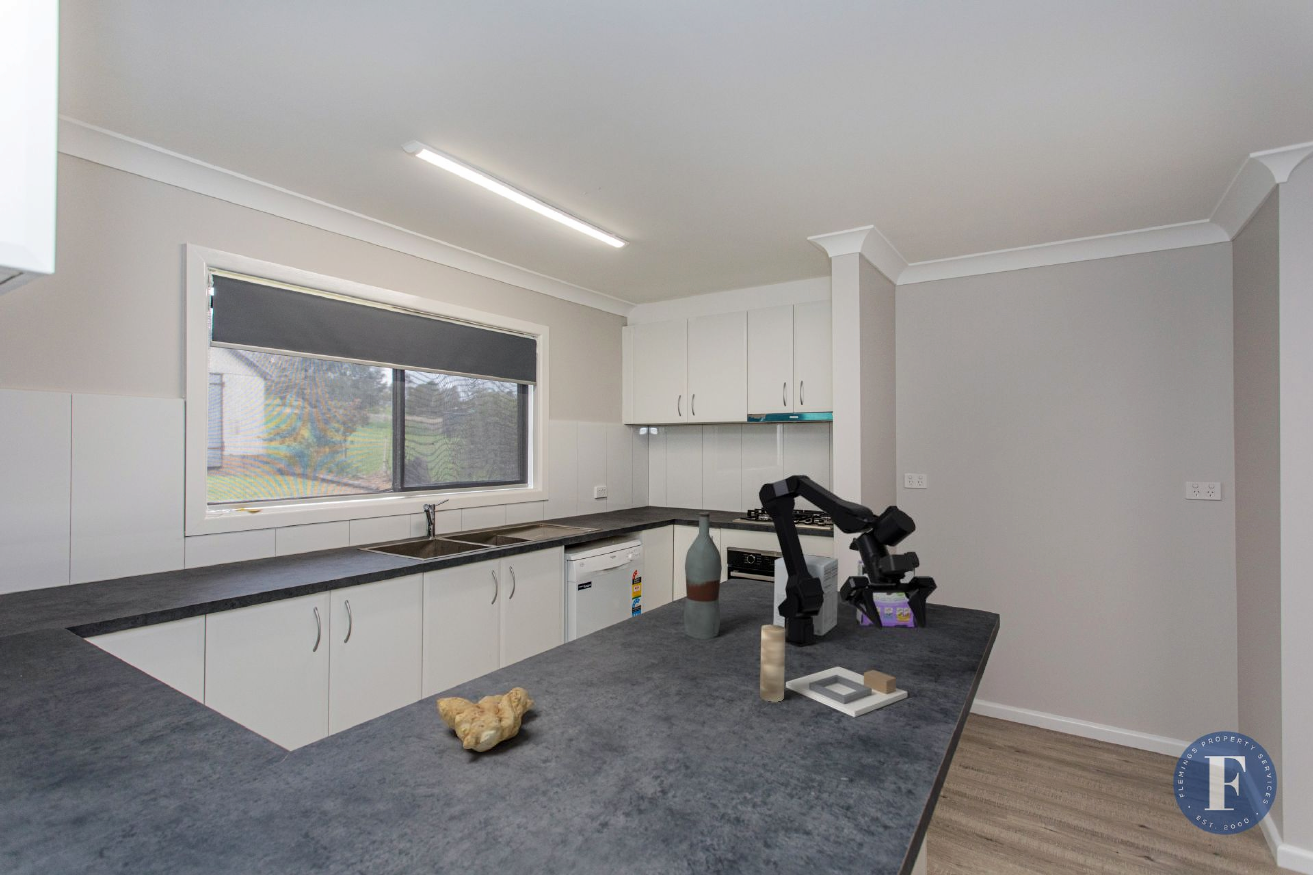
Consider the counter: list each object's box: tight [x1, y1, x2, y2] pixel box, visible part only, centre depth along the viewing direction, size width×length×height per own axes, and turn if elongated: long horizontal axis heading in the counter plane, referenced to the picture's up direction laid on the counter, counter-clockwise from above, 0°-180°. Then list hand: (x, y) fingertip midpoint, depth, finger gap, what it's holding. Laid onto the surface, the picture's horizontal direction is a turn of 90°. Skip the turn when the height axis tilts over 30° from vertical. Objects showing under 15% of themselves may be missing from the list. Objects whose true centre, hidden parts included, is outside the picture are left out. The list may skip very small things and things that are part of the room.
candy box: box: [856, 560, 916, 628], centre depth 170 cm, size 14×6×16 cm, turn 84°
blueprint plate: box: [785, 666, 908, 718], centre depth 122 cm, size 16×16×4 cm
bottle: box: [683, 511, 723, 640], centre depth 157 cm, size 9×9×30 cm
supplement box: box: [772, 554, 839, 636], centre depth 166 cm, size 13×13×18 cm
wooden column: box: [759, 624, 786, 703], centre depth 119 cm, size 4×4×13 cm
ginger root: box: [436, 686, 535, 753], centre depth 101 cm, size 16×16×8 cm
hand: (902, 627), depth 123 cm, fingers open, 9 cm apart
